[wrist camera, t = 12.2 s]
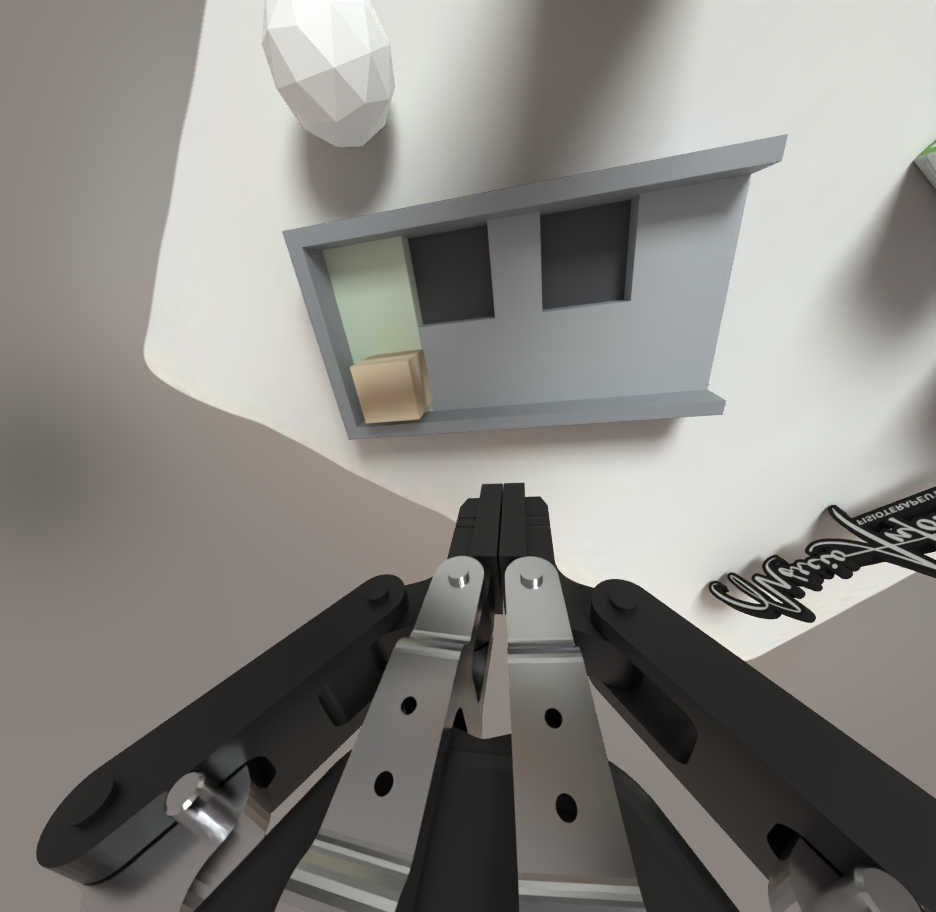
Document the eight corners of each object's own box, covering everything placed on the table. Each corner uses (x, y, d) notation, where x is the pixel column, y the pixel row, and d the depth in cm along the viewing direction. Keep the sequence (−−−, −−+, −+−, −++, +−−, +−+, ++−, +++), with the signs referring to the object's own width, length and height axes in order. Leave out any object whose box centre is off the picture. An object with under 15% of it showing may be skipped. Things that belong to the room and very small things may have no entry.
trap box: (319, 238, 30) (282, 231, 25) (734, 162, 24) (787, 134, 19) (370, 419, 38) (349, 439, 33) (691, 394, 32) (722, 414, 27)
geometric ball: (409, 20, 23) (362, -91, 16) (405, 169, 27) (366, 131, 20) (303, 10, 23) (213, -103, 16) (315, 158, 27) (245, 117, 20)
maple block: (372, 354, 32) (349, 367, 27) (423, 348, 31) (407, 360, 27) (385, 404, 34) (365, 423, 30) (432, 400, 33) (419, 419, 29)
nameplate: (708, 564, 46) (733, 640, 38) (699, 559, 45) (723, 634, 38) (1022, 440, 28) (1185, 537, 20) (1011, 430, 27) (1171, 525, 20)
